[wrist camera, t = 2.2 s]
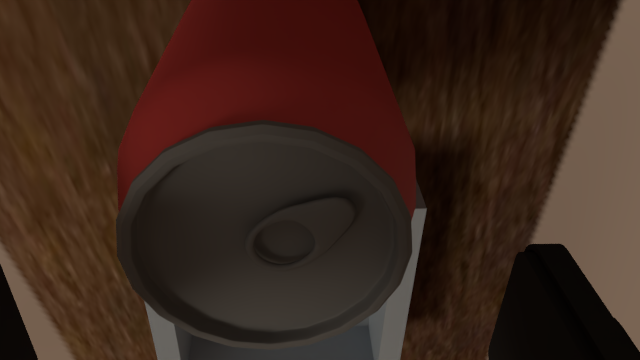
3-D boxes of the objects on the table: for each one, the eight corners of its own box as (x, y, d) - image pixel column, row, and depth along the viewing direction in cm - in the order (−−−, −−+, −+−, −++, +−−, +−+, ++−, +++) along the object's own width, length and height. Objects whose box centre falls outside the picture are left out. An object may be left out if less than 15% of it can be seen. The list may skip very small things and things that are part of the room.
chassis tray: (148, 152, 22) (124, 210, 19) (406, 152, 23) (426, 208, 20) (179, 327, 29) (165, 394, 25) (382, 323, 29) (394, 387, 26)
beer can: (397, 57, 21) (498, 282, 11) (261, 144, 22) (241, 403, 13) (297, -100, 17) (310, 13, 7) (149, 16, 19) (1, 231, 9)
